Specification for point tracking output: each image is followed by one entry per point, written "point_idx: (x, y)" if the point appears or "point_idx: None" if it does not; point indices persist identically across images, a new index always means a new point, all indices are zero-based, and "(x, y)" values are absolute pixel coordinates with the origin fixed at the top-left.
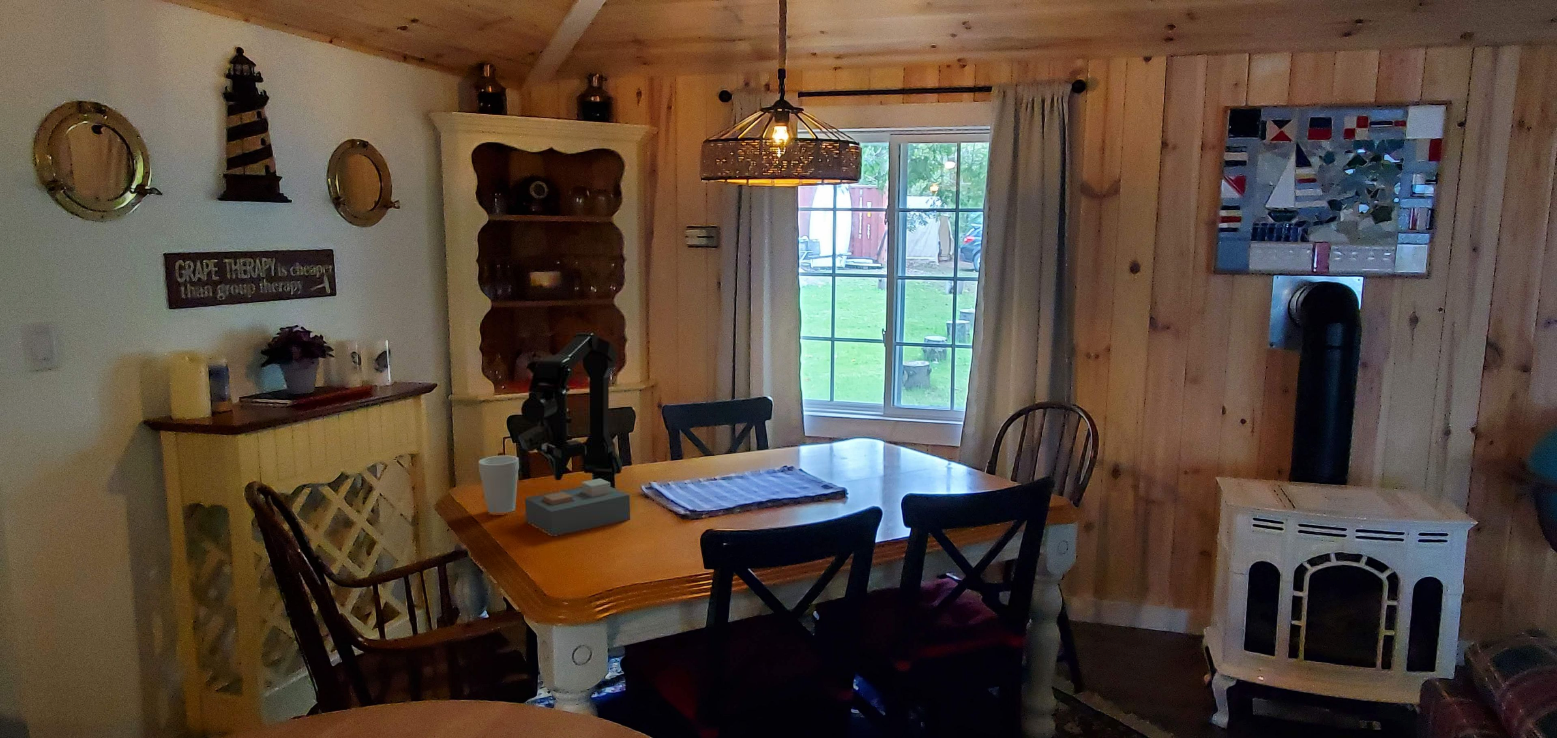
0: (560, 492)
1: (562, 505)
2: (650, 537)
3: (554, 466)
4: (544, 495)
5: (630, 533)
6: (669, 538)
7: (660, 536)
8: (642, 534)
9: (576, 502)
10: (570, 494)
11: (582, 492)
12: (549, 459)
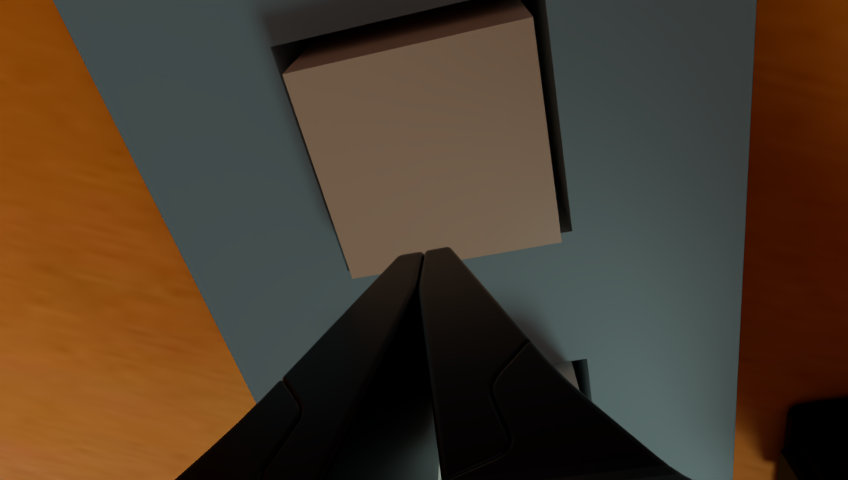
0: (548, 218)
1: (239, 143)
2: (39, 423)
3: (308, 391)
4: (533, 36)
5: (123, 375)
6: (10, 473)
7: (46, 456)
8: (93, 410)
9: (291, 268)
10: (563, 285)
11: (563, 371)
12: (506, 460)
